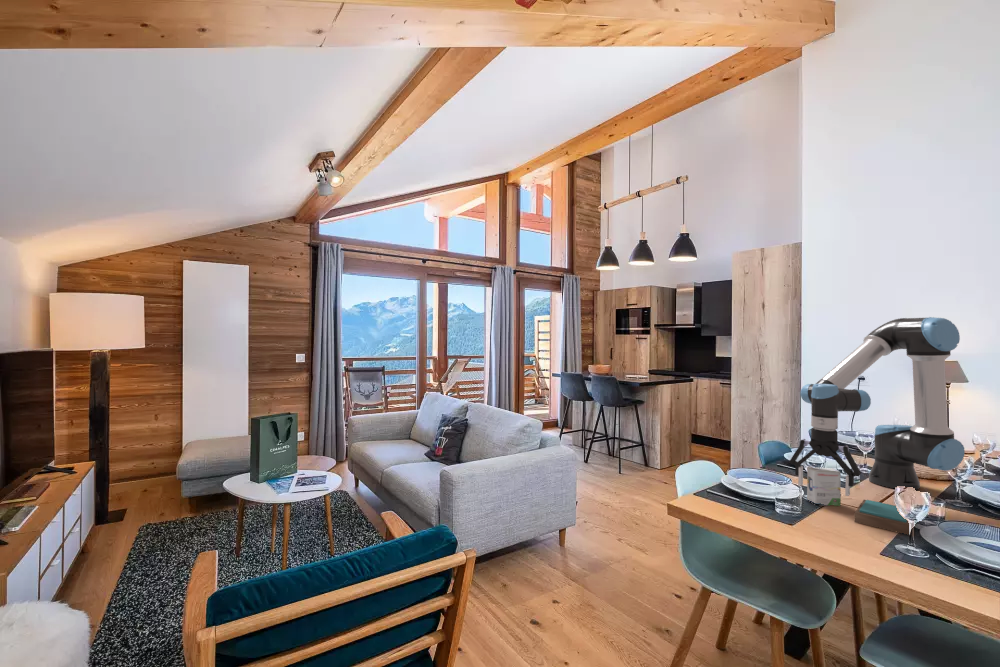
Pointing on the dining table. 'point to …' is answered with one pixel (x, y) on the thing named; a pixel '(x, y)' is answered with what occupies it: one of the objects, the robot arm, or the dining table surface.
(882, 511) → the walnut tray
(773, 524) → the dining table surface
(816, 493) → the ink box
